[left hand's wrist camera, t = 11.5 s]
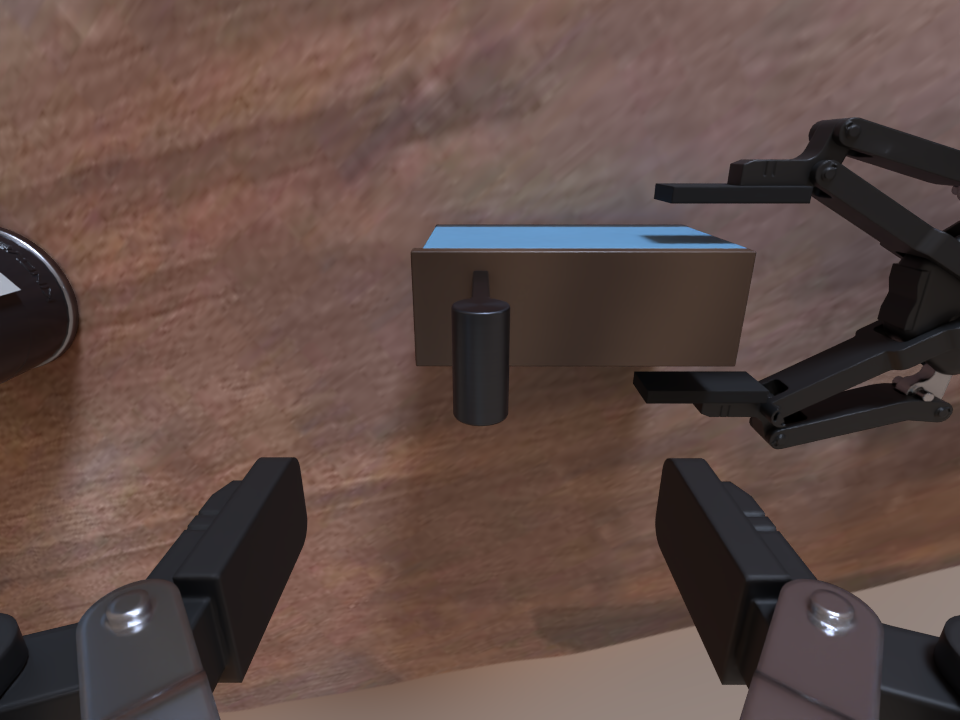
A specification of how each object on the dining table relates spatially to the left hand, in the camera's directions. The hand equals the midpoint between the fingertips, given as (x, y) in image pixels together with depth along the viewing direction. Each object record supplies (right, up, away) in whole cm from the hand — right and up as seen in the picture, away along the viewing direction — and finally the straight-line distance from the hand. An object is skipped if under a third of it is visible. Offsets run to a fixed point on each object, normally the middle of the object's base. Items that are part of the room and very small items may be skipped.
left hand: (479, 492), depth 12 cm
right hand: (+9, +6, +16) cm, 20 cm away
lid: (+5, +5, +14) cm, 16 cm away
